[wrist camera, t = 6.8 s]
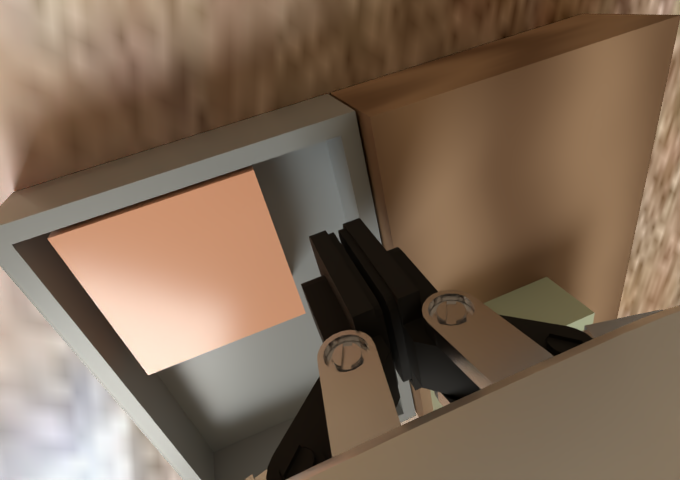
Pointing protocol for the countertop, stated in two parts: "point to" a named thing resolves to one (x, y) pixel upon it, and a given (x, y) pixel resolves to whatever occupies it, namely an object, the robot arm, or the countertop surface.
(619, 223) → the tan slab
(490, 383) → the robot arm
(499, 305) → the tile
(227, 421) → the box
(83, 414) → the countertop surface
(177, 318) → the tile
